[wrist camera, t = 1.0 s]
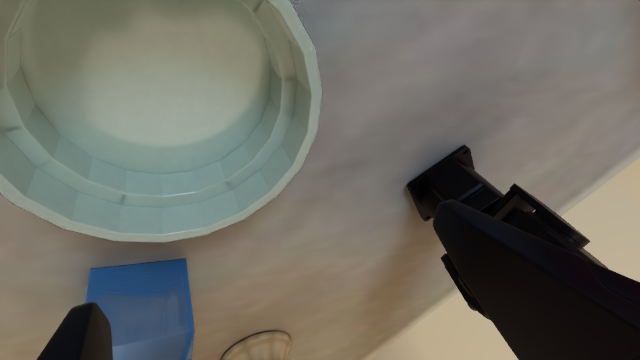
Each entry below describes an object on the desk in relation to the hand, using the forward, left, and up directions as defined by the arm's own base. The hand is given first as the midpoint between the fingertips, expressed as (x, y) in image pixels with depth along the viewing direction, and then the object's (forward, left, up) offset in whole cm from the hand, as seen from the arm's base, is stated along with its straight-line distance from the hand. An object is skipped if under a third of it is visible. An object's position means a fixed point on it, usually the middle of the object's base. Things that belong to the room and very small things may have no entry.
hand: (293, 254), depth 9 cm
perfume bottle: (-10, +16, -14) cm, 24 cm away
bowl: (+1, +3, -14) cm, 14 cm away
